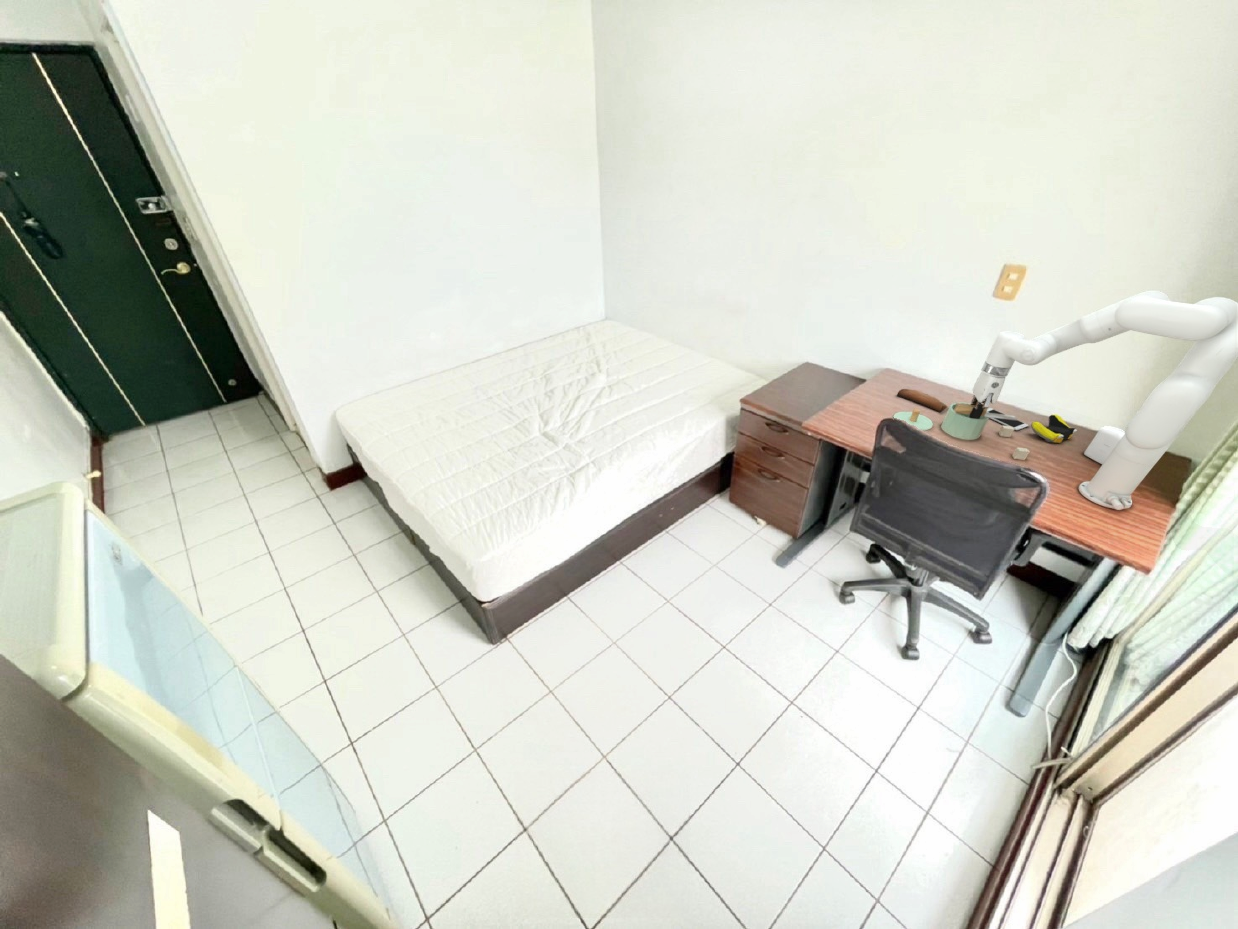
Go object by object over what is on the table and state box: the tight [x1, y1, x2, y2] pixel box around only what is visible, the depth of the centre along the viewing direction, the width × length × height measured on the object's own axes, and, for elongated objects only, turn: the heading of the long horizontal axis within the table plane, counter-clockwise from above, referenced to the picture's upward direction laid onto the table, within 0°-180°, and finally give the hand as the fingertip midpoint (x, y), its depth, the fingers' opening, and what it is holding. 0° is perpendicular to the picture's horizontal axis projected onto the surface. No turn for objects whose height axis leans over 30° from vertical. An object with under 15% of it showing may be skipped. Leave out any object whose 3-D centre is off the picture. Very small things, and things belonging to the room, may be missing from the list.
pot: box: [940, 401, 990, 441], centre depth 179 cm, size 13×13×9 cm
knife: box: [954, 402, 1018, 421], centre depth 171 cm, size 3×19×3 cm, turn 73°
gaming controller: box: [1030, 414, 1078, 444], centre depth 177 cm, size 15×6×10 cm
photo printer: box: [1083, 425, 1125, 465], centre depth 162 cm, size 10×4×12 cm, turn 14°
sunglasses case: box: [896, 388, 948, 413], centre depth 199 cm, size 18×7×7 cm
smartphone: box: [987, 407, 1029, 431], centre depth 188 cm, size 8×1×15 cm
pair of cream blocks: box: [998, 425, 1030, 461], centre depth 172 cm, size 17×3×4 cm, turn 163°
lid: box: [892, 408, 934, 432], centre depth 185 cm, size 14×14×6 cm
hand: (972, 415), depth 173 cm, fingers closed on knife, 2 cm apart
